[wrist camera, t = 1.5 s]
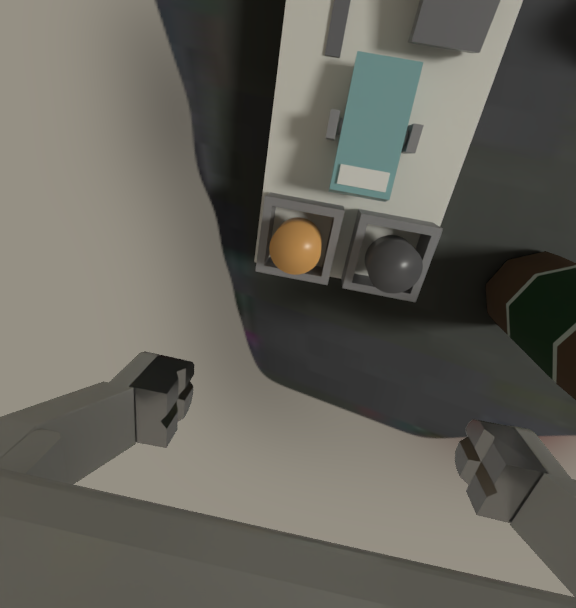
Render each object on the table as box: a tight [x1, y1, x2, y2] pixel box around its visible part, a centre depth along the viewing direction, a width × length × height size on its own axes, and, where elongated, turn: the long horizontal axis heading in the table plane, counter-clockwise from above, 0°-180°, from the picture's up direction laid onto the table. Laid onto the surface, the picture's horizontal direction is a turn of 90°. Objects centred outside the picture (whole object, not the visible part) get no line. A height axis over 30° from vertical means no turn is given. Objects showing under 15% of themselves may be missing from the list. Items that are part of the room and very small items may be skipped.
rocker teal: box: [328, 51, 423, 202], centre depth 21 cm, size 8×4×2 cm, turn 171°
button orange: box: [269, 217, 322, 275], centre depth 23 cm, size 4×4×2 cm
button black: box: [365, 235, 423, 293], centre depth 23 cm, size 4×4×2 cm
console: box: [254, 0, 523, 302], centre depth 22 cm, size 28×14×7 cm, turn 171°
